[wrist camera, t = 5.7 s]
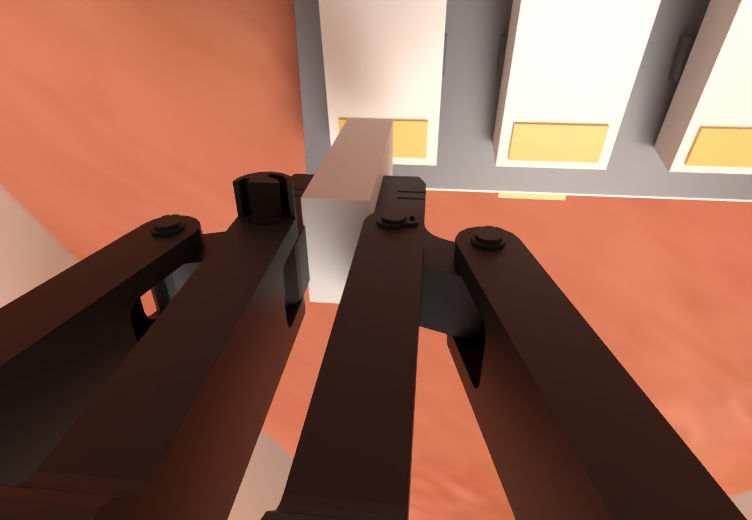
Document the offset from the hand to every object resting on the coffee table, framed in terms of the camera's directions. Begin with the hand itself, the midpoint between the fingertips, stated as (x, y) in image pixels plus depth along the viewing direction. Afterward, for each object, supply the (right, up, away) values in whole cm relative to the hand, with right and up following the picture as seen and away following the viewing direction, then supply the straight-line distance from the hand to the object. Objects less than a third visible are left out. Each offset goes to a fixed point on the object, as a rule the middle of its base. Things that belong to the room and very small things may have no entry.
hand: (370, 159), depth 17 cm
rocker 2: (+8, +4, +2) cm, 9 cm away
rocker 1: (+1, +5, +4) cm, 6 cm away
